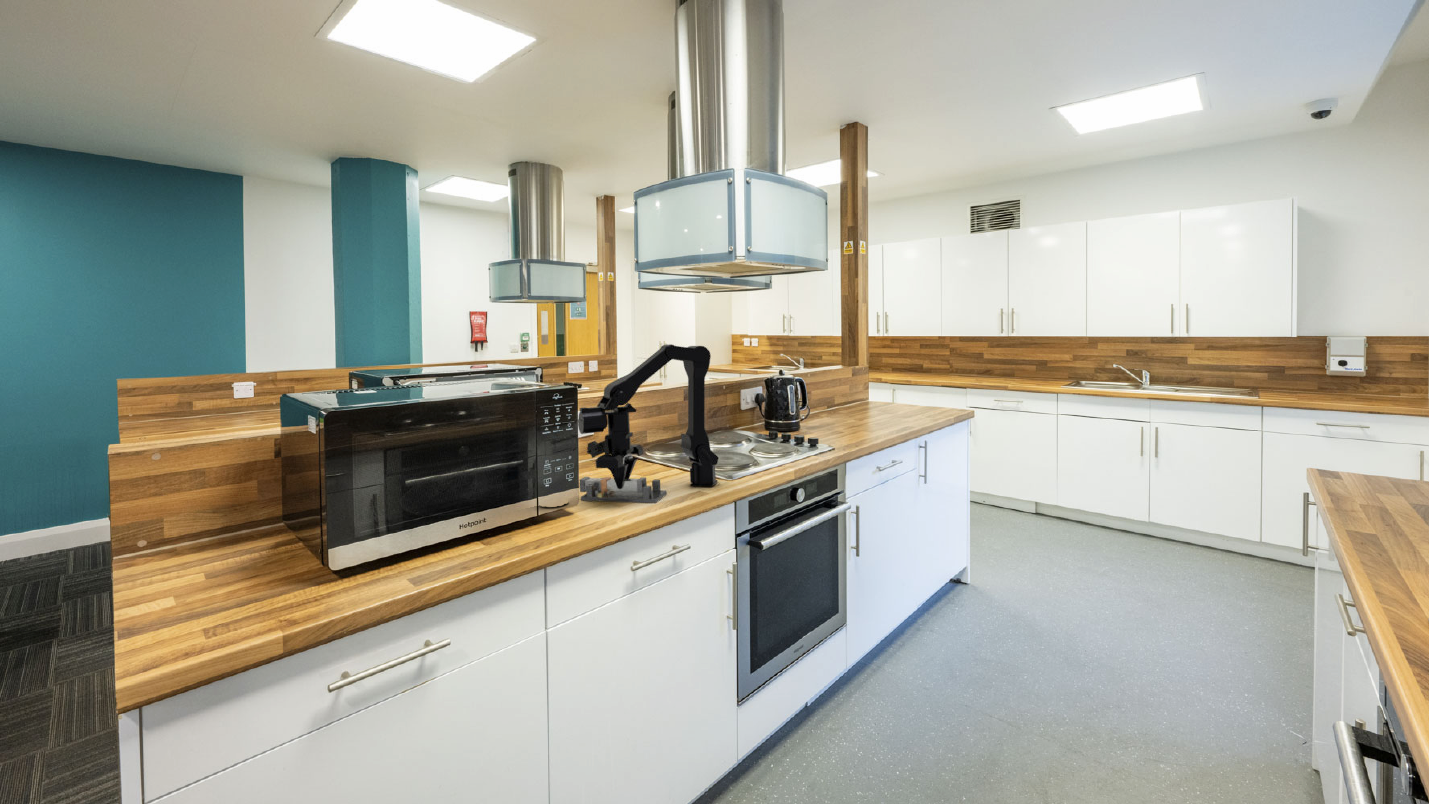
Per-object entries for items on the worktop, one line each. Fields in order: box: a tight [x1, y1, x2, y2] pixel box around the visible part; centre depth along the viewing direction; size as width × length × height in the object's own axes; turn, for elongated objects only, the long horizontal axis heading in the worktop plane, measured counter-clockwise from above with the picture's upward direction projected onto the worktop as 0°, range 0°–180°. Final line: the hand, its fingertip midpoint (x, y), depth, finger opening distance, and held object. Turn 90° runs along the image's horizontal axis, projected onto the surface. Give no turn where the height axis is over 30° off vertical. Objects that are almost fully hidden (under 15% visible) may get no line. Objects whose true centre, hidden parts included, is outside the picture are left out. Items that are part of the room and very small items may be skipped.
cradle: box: [580, 478, 667, 504], centre depth 161 cm, size 21×9×4 cm, turn 76°
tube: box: [579, 476, 648, 493], centre depth 162 cm, size 18×3×3 cm, turn 76°
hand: (622, 487), depth 161 cm, fingers closed on tube, 3 cm apart
